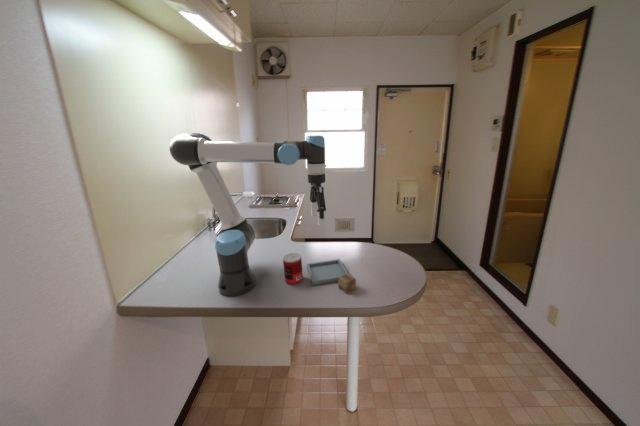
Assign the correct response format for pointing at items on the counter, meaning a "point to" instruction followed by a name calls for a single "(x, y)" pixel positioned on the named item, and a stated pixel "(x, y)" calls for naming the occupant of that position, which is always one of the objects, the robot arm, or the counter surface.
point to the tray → (325, 271)
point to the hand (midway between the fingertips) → (317, 220)
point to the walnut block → (347, 283)
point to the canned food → (293, 268)
